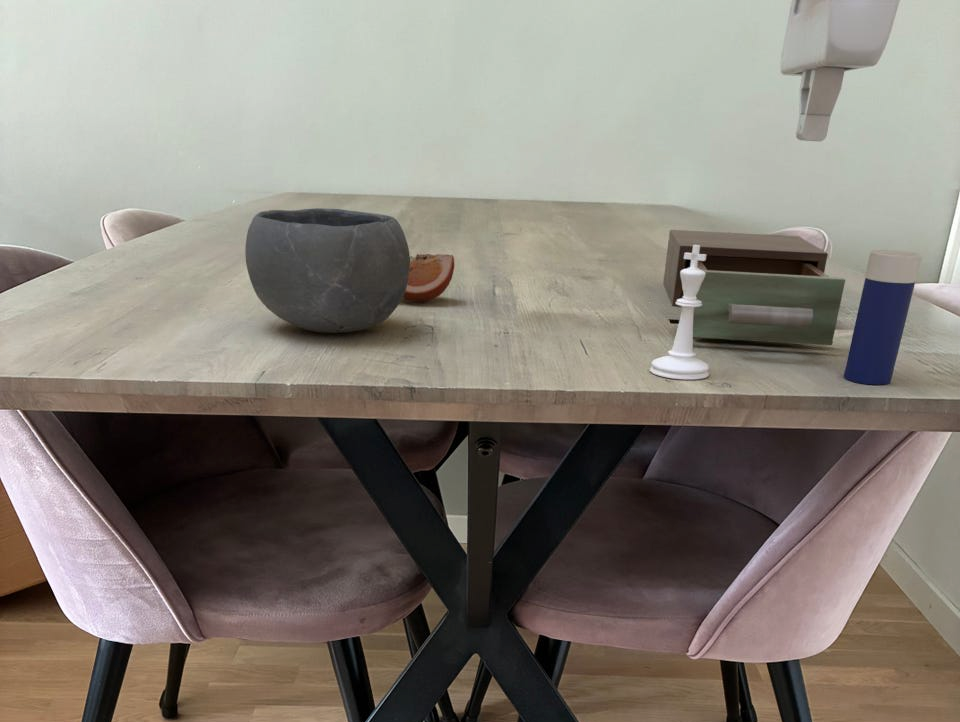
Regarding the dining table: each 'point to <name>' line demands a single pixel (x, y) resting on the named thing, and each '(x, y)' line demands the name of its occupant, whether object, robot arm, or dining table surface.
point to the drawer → (766, 301)
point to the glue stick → (881, 316)
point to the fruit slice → (428, 276)
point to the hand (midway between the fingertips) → (809, 141)
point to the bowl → (328, 267)
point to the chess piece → (685, 328)
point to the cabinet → (732, 252)
